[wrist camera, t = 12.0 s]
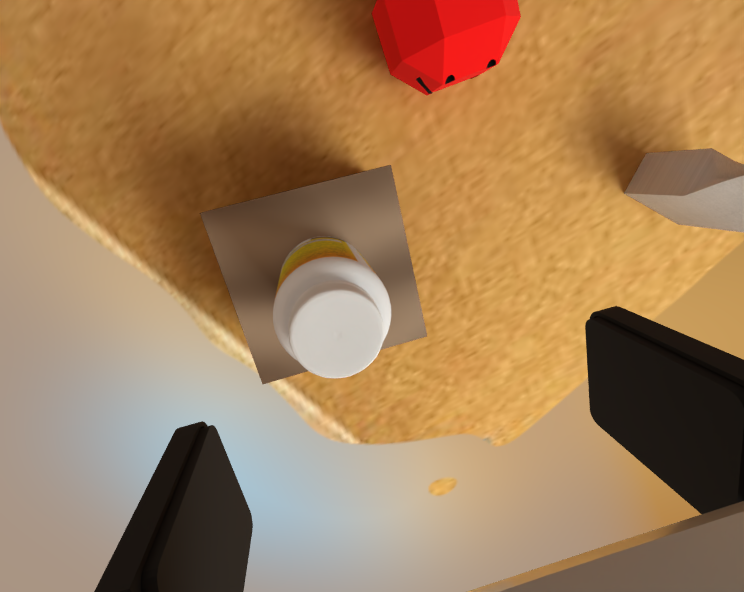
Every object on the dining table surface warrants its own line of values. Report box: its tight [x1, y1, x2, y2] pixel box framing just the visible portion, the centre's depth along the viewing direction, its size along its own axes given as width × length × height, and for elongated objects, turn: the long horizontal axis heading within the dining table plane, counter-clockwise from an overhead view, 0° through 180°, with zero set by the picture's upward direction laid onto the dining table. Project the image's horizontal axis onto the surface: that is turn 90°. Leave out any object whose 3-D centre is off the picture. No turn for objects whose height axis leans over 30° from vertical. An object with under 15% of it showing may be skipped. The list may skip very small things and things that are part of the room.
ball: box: [372, 0, 521, 95], centre depth 26 cm, size 8×8×8 cm
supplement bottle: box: [273, 236, 391, 378], centre depth 22 cm, size 6×6×10 cm
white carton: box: [624, 148, 744, 232], centre depth 32 cm, size 4×7×10 cm, turn 66°
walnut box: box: [200, 165, 427, 384], centre depth 30 cm, size 12×12×7 cm
